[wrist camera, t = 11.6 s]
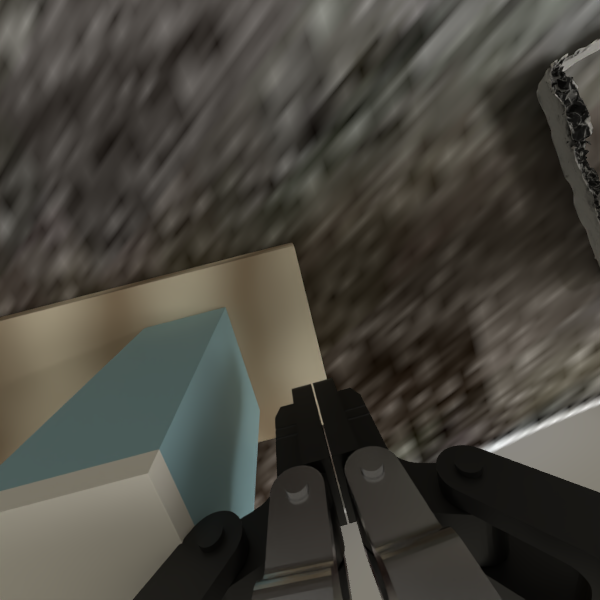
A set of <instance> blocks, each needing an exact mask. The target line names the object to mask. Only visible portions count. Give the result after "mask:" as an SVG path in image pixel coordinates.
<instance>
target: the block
mask: <svg viewBox="0 0 600 600" xmlns="http://www.w3.org/2000/svg"><path fill="white" fill-rule="evenodd" d="M259 417H260V409H259V406H258V403H257V400H256V397H255V394H254V391H253V388H252V385H251V382H250V379H249V376H248V373H247V370H246V367H245V364H244V361H243V358H242V355H241V352H240V349H239V346H238V343H237V340H236V337H235V334H234V331H233V328H232V325H231V322H230V319H229V316H228V313H227V310H226V307H224V308H220V309H216V310H212V311H208V312H205V313H201V314H197V315H193V316H189V317H185V318H182V319H178V320H174V321H170V322H166V323H162V324H158V325H155V326H151V327H147V328H144V329H143V330H142V331H141V332H140V333H139V334H138V335H137V336H136V337H135V338H134V339H133V340H131V341H130V342H129V343H128V344H127V345H126V346H125V347H124V348H123V349H122V350H121V351H120V352H119V353H118V354H117V355H116V356H115V357H114V358H113V359H112V360H110V361H109V362H108V363H107V364H106V365H105V366H104V367H103V368H102V369H101V370H100V371H99V372H98V373H97V374H96V375H95V376H94V377H93V378H92V379H90V380H89V381H88V382H87V383H86V384H85V385H84V386H83V387H82V388H81V389H80V390H79V391H78V392H77V393H76V394H75V395H74V396H73V397H72V398H70V399H69V400H68V401H67V402H66V403H65V404H64V405H63V406H62V407H61V408H60V409H59V410H58V411H57V412H56V413H55V414H54V415H53V416H52V417H51V418H49V419H48V420H47V421H46V422H45V423H44V424H43V425H42V426H41V427H40V428H39V429H38V430H37V431H36V432H35V433H34V434H33V435H32V436H31V437H29V438H28V439H27V440H26V441H25V442H24V443H23V444H22V445H21V446H20V447H19V448H18V449H17V450H16V451H15V452H14V453H13V454H12V455H11V456H9V457H8V458H7V459H6V460H5V461H4V462H3V463H2V464H1V465H0V600H133V599H134V597H135V596H136V595H137V594H138V593H139V591H140V590H141V589H142V588H143V587H144V586H145V584H146V583H147V582H148V581H149V580H150V578H151V577H152V576H153V575H154V574H155V572H156V571H157V570H158V569H159V568H160V567H161V565H162V564H163V563H164V562H165V561H166V559H167V558H168V557H169V556H170V555H171V553H172V552H173V551H174V550H175V549H176V547H177V546H178V545H179V544H182V543H183V539H184V538H185V537H186V536H187V534H188V533H189V532H190V531H191V530H192V528H193V527H194V526H195V525H196V524H197V523H198V522H199V521H201V520H202V519H203V518H205V517H206V516H208V515H210V514H212V513H214V512H218V511H231V512H233V513H235V514H236V515H237V516H238V517H239V518H240V519H241V518H243V517H244V516H246V515H247V514H249V513H251V512H252V511H254V498H255V482H256V466H257V450H258V433H259Z"/></svg>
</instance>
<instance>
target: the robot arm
mask: <svg viewBox="0 0 600 600" xmlns="http://www.w3.org/2000/svg"><path fill="white" fill-rule="evenodd" d="M313 386H314V390H315V394H316V398H317V402H318V405H319V409H320V413H321V417H322V421H323V424H324V428H325V432H326V436H327V440H328V443H329V447H330V451H331V455H332V459H333V462H334V466H335V470H336V474H337V477H338V481H339V485H340V489H341V493H342V496H343V500H344V504H345V508H346V512H347V515H348V519H349V523H353V522H356V521H357V524H358V528H359V531H360V535H361V538H362V542H363V546H364V550H365V553H366V556H367V559H368V562H369V564H370V567H371V570H372V573H373V576H374V578H375V581H376V584H377V586H378V589H379V592H380V595H381V598H382V600H600V493H599V492H597V491H594V490H591V489H588V488H586V487H583V486H580V485H577V484H574V483H572V482H569V481H566V480H564V479H561V478H558V477H556V476H553V475H550V474H548V473H545V472H542V471H539V470H537V469H534V468H531V467H529V466H526V465H523V464H520V463H518V462H514V461H512V460H510V459H507V458H504V457H501V456H498V455H495V454H493V453H490V452H488V451H485V450H482V449H480V448H476V447H473V446H465V445H459V446H453V447H450V448H447V449H445V450H444V451H443V452H441V454H440V455H439V456H438V458H437V462H436V463H413V462H408V461H405V460H402V459H400V458H398V457H396V455H395V454H394V453H392V452H391V451H389V450H388V448H387V447H386V445H385V443H384V441H383V439H382V437H381V435H380V433H379V431H378V429H377V427H376V425H375V423H374V421H373V419H372V417H371V415H370V414H369V411H368V409H367V407H366V406H365V403H364V401H363V399H362V397H361V395H360V394H359V393H357V392H356V391H354V390H353V389H351V388H348V389H344V390H340V391H337V389H336V387H335V384H334V382H333V379H332V378H330V379H326V380H322V381H319V382H315V383H313ZM292 397H293V404H289V405H286V406H282V407H280V409H279V411H278V413H277V415H276V417H275V429H276V431H275V432H276V457H277V479H276V480H275V481H274V483H273V485H272V488H271V491H270V497H269V498H268V499H267V501H266V502H265V503H264V504H262V505H261V506H260V507H258V508H257V509H256V510H254V511H252V512H251V513H249V514H247V515H246V516H244V517H243V518H241V519H240V518H239V517H238V516H237V515H236V514H235V513H233V512H231V511H218V512H214V513H212V514H210V515H208V516H206V517H205V518H203V519H202V520H201V521H199V522H198V523H197V524H196V525H195V526H194V527H193V528H192V530H191V531H190V532H189V533H188V534H187V536H186V537H185V538H184V539H183V543H182V544H179V545H178V546H177V547H176V549H175V550H174V551H173V552H172V553H171V555H170V556H169V557H168V558H167V559H166V561H165V562H164V563H163V564H162V565H161V567H160V568H159V569H158V570H157V571H156V572H155V574H154V575H153V576H152V577H151V578H150V580H149V581H148V582H147V583H146V584H145V586H144V587H143V588H142V589H141V590H140V591H139V593H138V594H137V595H136V596H135V597H134V599H133V600H352V596H351V589H350V583H349V576H348V570H347V563H346V558H345V554H344V551H345V546H344V541H343V536H342V532H341V528H340V526H343V525H347V521H346V517H345V513H344V509H343V505H342V501H341V497H340V493H339V489H338V486H337V482H336V478H335V474H334V470H333V466H332V462H331V458H330V454H329V450H328V446H327V443H326V439H325V435H324V431H323V427H322V423H321V419H320V416H319V412H318V408H317V404H316V401H315V397H314V393H313V389H312V386H311V384H308V385H304V386H300V387H297V388H293V389H292Z"/></svg>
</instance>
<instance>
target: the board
mask: <svg viewBox="0 0 600 600" xmlns="http://www.w3.org/2000/svg"><path fill="white" fill-rule="evenodd" d="M224 307H226V310H227V313H228V316H229V319H230V322H231V325H232V328H233V331H234V334H235V337H236V340H237V343H238V346H239V349H240V352H241V355H242V358H243V361H244V364H245V367H246V370H247V373H248V376H249V379H250V382H251V385H252V388H253V391H254V394H255V397H256V400H257V403H258V406H259V409H260V417H259V433H258V442H261V441H265V440H269V439H272V438H276V432H275V431H276V429H275V417H276V415H277V413H278V411H279V409H280V407H282V406H286V405H289V404H293V397H292V389H293V388H297V387H300V386H304V385H308V384H311V386H312V389H313V393H314V397H315V401H316V404H317V408H318V412H319V416H320V419H321V423H322V425H324V424H323V421H322V417H321V413H320V409H319V405H318V402H317V398H316V394H315V390H314V386H313V383H315V382H319V381H322V380H326V379H327V378H326V374H325V370H324V366H323V362H322V358H321V353H320V349H319V345H318V341H317V337H316V333H315V329H314V325H313V321H312V317H311V313H310V309H309V305H308V301H307V297H306V293H305V289H304V284H303V280H302V276H301V272H300V268H299V264H298V260H297V256H296V252H295V248H294V245H293V244H292V242H291V243H287V244H283V245H279V246H275V247H271V248H267V249H263V250H260V251H256V252H252V253H248V254H244V255H240V256H236V257H232V258H228V259H225V260H221V261H217V262H213V263H209V264H205V265H201V266H197V267H193V268H190V269H186V270H182V271H178V272H174V273H170V274H166V275H162V276H158V277H154V278H151V279H147V280H143V281H139V282H135V283H131V284H127V285H123V286H119V287H116V288H112V289H108V290H104V291H100V292H96V293H92V294H88V295H84V296H81V297H77V298H73V299H69V300H65V301H61V302H57V303H53V304H49V305H46V306H42V307H38V308H34V309H30V310H26V311H22V312H18V313H14V314H11V315H7V316H3V317H0V465H1V464H2V463H3V462H4V461H5V460H6V459H7V458H8V457H9V456H11V455H12V454H13V453H14V452H15V451H16V450H17V449H18V448H19V447H20V446H21V445H22V444H23V443H24V442H25V441H26V440H27V439H28V438H29V437H31V436H32V435H33V434H34V433H35V432H36V431H37V430H38V429H39V428H40V427H41V426H42V425H43V424H44V423H45V422H46V421H47V420H48V419H49V418H51V417H52V416H53V415H54V414H55V413H56V412H57V411H58V410H59V409H60V408H61V407H62V406H63V405H64V404H65V403H66V402H67V401H68V400H69V399H70V398H72V397H73V396H74V395H75V394H76V393H77V392H78V391H79V390H80V389H81V388H82V387H83V386H84V385H85V384H86V383H87V382H88V381H89V380H90V379H92V378H93V377H94V376H95V375H96V374H97V373H98V372H99V371H100V370H101V369H102V368H103V367H104V366H105V365H106V364H107V363H108V362H109V361H110V360H112V359H113V358H114V357H115V356H116V355H117V354H118V353H119V352H120V351H121V350H122V349H123V348H124V347H125V346H126V345H127V344H128V343H129V342H130V341H131V340H133V339H134V338H135V337H136V336H137V335H138V334H139V333H140V332H141V331H142V330H143V329H144V328H147V327H151V326H155V325H158V324H162V323H166V322H170V321H174V320H178V319H182V318H185V317H189V316H193V315H197V314H201V313H205V312H208V311H212V310H216V309H220V308H224Z"/></svg>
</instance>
